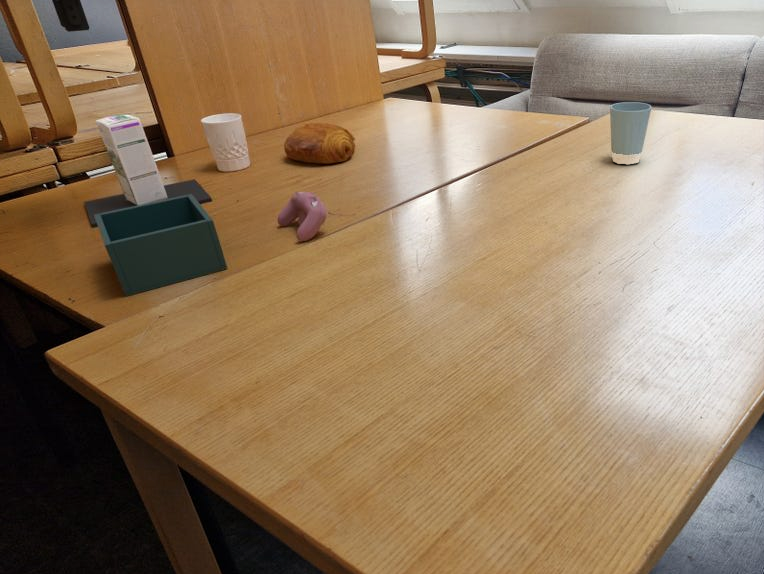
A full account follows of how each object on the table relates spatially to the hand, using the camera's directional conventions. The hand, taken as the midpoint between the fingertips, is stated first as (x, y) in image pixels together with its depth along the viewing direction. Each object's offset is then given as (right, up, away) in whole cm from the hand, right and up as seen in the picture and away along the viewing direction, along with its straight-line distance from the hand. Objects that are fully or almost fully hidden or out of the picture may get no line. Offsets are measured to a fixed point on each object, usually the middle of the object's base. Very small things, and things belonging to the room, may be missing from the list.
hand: (75, 28), depth 96 cm
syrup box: (+2, -22, +18) cm, 29 cm away
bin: (+18, -38, -6) cm, 42 cm away
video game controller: (+35, -31, +4) cm, 47 cm away
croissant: (+29, -8, +38) cm, 49 cm away
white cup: (+11, -11, +35) cm, 38 cm away
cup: (+93, -13, +26) cm, 97 cm away
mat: (+2, -23, +18) cm, 29 cm away
